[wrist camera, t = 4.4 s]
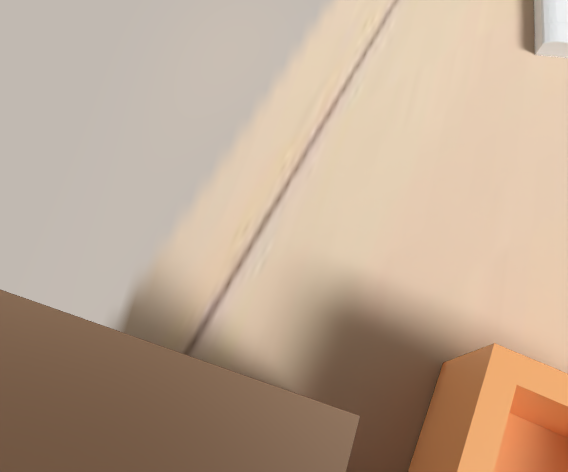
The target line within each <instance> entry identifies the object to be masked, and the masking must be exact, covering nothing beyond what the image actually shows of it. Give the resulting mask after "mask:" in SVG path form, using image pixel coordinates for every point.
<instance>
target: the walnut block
mask: <svg viewBox="0 0 568 472" xmlns="http://www.w3.org/2000/svg"><path fill="white" fill-rule="evenodd" d="M359 419H360V416H359V415H356V414H353V413H350V412H347V411H345V410H342V409H339V408H336V407H333V406H330V405H328V404H325V403H322V402H319V401H316V400H313V399H310V398H308V397H305V396H302V395H299V394H296V393H293V392H291V391H288V390H285V389H282V388H279V387H276V386H273V385H271V384H268V383H265V382H262V381H259V380H256V379H253V378H251V377H248V376H245V375H242V374H239V373H236V372H234V371H231V370H228V369H225V368H222V367H219V366H216V365H214V364H211V363H208V362H205V361H202V360H199V359H197V358H194V357H191V356H188V355H185V354H182V353H179V352H177V351H174V350H171V349H168V348H165V347H162V346H160V345H157V344H154V343H151V342H148V341H145V340H142V339H140V338H137V337H134V336H131V335H128V334H125V333H123V332H120V331H117V330H114V329H111V328H108V327H105V326H103V325H100V324H97V323H94V322H91V321H88V320H85V319H83V318H80V317H77V316H74V315H71V314H68V313H65V312H63V311H60V310H57V309H54V308H51V307H48V306H46V305H42V304H40V303H37V302H34V301H31V300H29V299H26V298H23V297H20V296H17V295H14V294H11V293H8V292H6V291H3V290H0V472H346V469H347V465H348V461H349V458H350V454H351V450H352V446H353V442H354V438H355V434H356V430H357V426H358V422H359Z"/></svg>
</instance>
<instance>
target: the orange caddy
mask: <svg viewBox="0 0 568 472" xmlns="http://www.w3.org/2000/svg"><path fill="white" fill-rule="evenodd" d="M408 472H568V374H567V373H564V372H562V371H560V370H557V369H555V368H552V367H550V366H548V365H545V364H543V363H540V362H538V361H536V360H533V359H531V358H528V357H526V356H524V355H521V354H519V353H516V352H514V351H512V350H509V349H507V348H504V347H502V346H500V345H497V344H495V343H494V344H491V345H489V346H486V347H483V348H481V349H478V350H475V351H473V352H470V353H468V354H465V355H462V356H460V357H457V358H454V359H452V360H449V361H446V362H444V363H443V365H442V368H441V371H440V374H439V377H438V380H437V383H436V386H435V390H434V393H433V396H432V399H431V402H430V405H429V408H428V411H427V414H426V417H425V420H424V423H423V427H422V430H421V433H420V436H419V439H418V442H417V445H416V448H415V451H414V454H413V457H412V460H411V464H410V467H409V470H408Z"/></svg>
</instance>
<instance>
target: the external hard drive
mask: <svg viewBox="0 0 568 472" xmlns="http://www.w3.org/2000/svg"><path fill="white" fill-rule="evenodd" d="M534 34H535V55H540V56H551V57H561V58H568V0H534Z"/></svg>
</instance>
